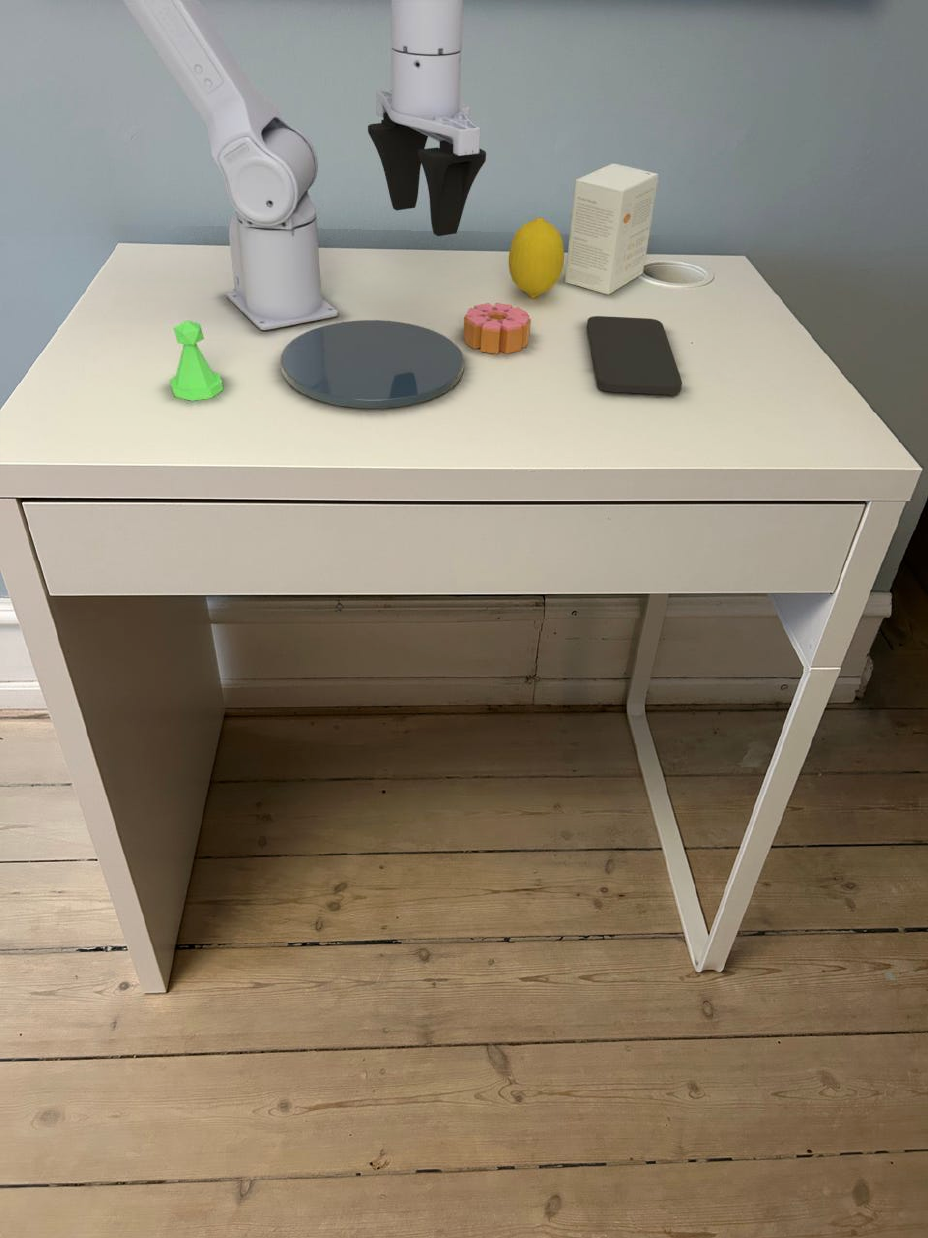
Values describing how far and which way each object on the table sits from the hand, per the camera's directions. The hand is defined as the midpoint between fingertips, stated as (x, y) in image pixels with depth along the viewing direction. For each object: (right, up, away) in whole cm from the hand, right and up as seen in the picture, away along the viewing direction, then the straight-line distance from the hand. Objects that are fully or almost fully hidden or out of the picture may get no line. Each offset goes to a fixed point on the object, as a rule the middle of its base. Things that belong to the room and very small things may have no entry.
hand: (424, 220), depth 87 cm
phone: (+19, -12, +1) cm, 23 cm away
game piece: (-19, -17, -6) cm, 26 cm away
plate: (-4, -14, -2) cm, 15 cm away
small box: (+19, 0, +16) cm, 25 cm away
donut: (+7, -10, +3) cm, 12 cm away
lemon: (+11, -3, +12) cm, 16 cm away
